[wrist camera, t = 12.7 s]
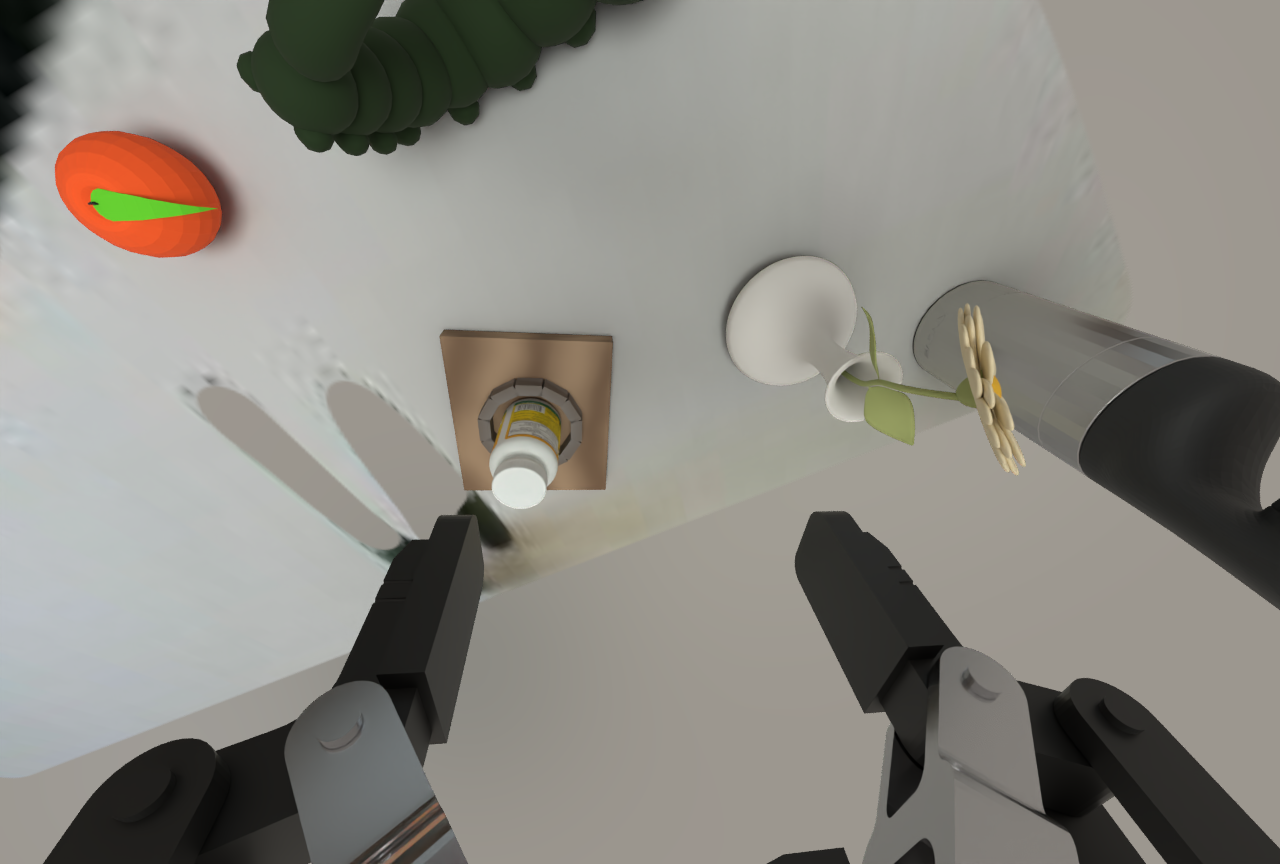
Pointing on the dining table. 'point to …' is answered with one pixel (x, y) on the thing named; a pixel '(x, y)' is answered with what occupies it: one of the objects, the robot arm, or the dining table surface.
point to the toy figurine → (400, 62)
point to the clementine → (138, 194)
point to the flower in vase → (856, 384)
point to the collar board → (530, 368)
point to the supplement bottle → (525, 453)
